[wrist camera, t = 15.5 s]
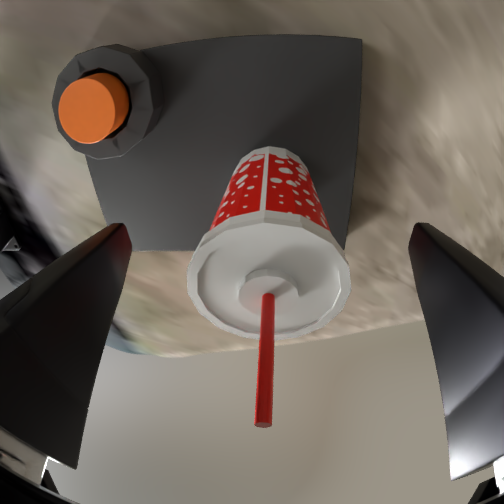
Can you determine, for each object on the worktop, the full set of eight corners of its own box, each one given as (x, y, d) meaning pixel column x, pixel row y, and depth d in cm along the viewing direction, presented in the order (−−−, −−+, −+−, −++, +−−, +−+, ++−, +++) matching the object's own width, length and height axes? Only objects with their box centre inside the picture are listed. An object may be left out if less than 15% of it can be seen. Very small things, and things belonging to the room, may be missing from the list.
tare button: (82, 137, 15) (66, 148, 14) (70, 81, 13) (52, 88, 12) (134, 127, 15) (121, 138, 14) (124, 66, 13) (108, 70, 11)
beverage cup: (227, 226, 21) (184, 444, 10) (213, 137, 17) (111, 362, 6) (320, 223, 20) (352, 446, 9) (323, 132, 16) (409, 364, 5)
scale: (119, 242, 24) (104, 266, 21) (71, 59, 14) (44, 67, 12) (341, 240, 22) (348, 267, 20) (356, 27, 13) (372, 25, 11)
